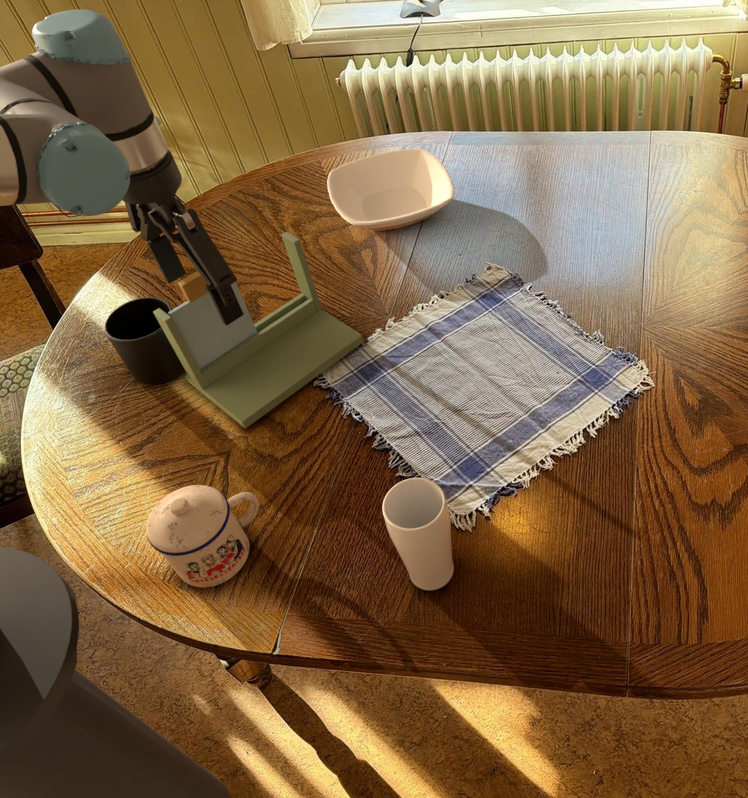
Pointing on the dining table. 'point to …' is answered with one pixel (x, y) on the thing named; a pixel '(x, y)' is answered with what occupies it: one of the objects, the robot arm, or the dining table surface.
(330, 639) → the dining table surface
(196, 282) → the panel
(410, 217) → the bowl
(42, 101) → the robot arm
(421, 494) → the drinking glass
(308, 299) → the window frame
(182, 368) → the mug
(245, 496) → the teacup with lid
